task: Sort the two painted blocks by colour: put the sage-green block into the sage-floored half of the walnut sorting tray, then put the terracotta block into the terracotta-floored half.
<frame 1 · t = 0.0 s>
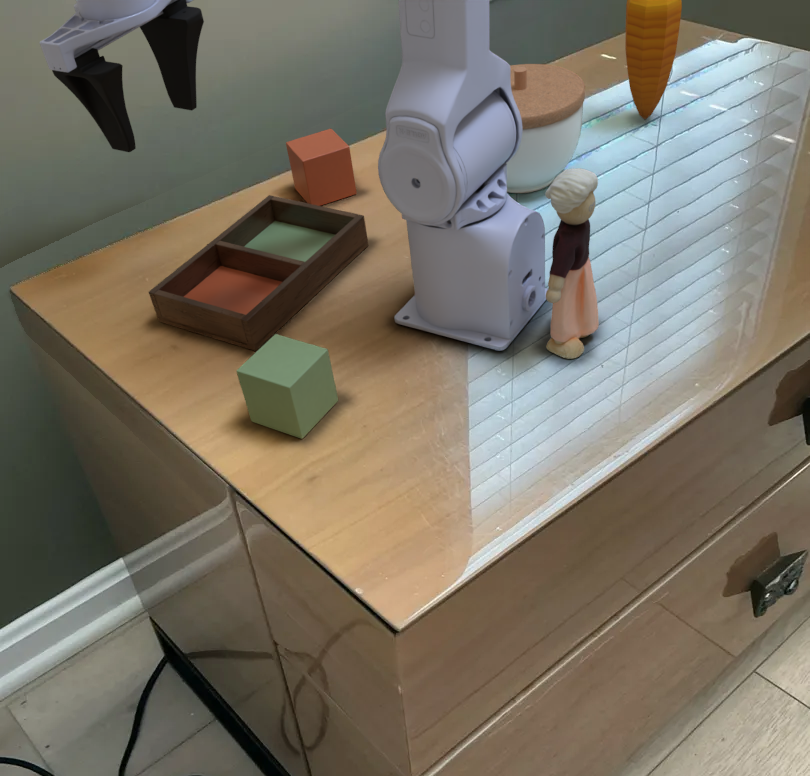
hand: (155, 127, 77), 10 cm above the cabinet, tool pointing down, fingers open, 7 cm apart
sage block: (295, 411, 67), on the cabinet
terracotta block: (325, 191, 88), on the cabinet
trinket box: (522, 178, 86), on the cabinet
grandmother figurine: (571, 337, 69), on the cabinet
carrot: (644, 120, 91), on the cabinet
sorting tray: (266, 282, 79), on the cabinet
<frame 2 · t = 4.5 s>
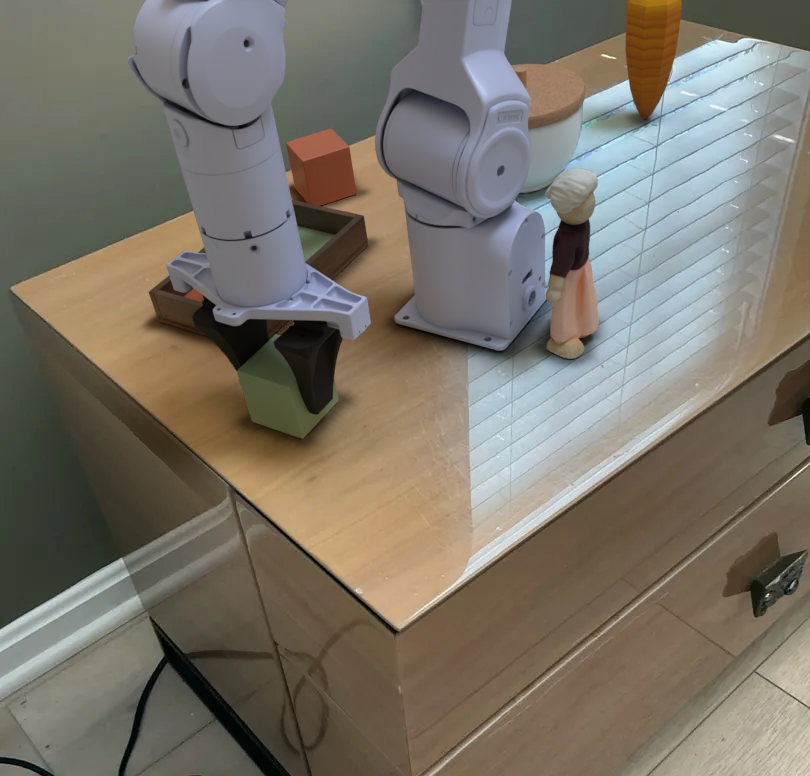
hand: (291, 395, 66), 1 cm above the cabinet, tool pointing down, fingers closed on sage block, 4 cm apart
sage block: (295, 411, 67), on the cabinet, touching gripper
everything else where it was.
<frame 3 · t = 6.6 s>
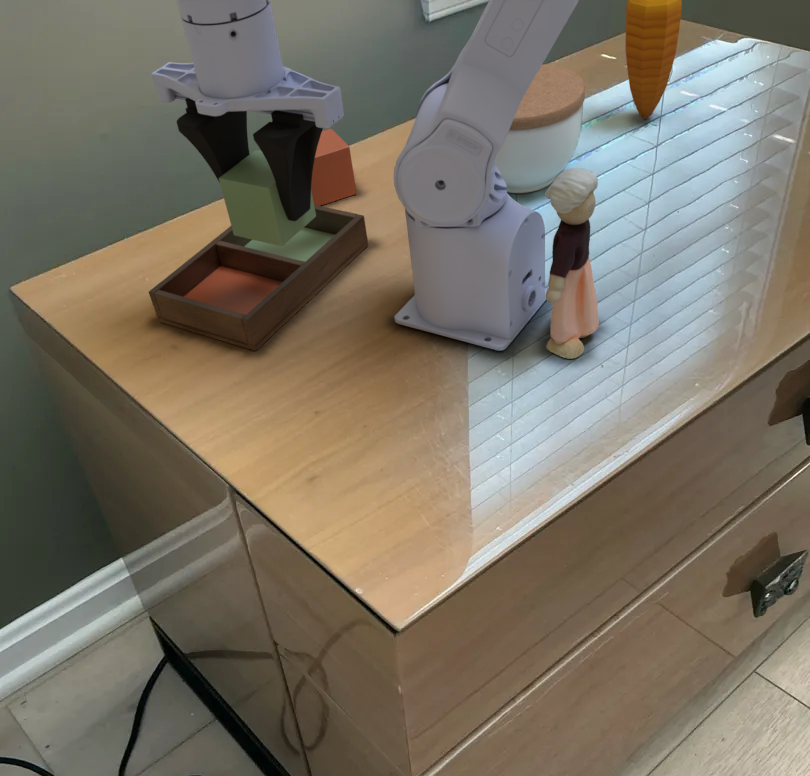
hand: (271, 208, 70), 8 cm above the cabinet, tool pointing down, fingers closed on sage block, 4 cm apart
sage block: (275, 226, 71), point 7 cm above the cabinet, touching gripper
everything else where it was.
when the fingers open (2 cm above the cabinet, at t = 9.2 s): sage block stays where it is, resting on sorting tray.
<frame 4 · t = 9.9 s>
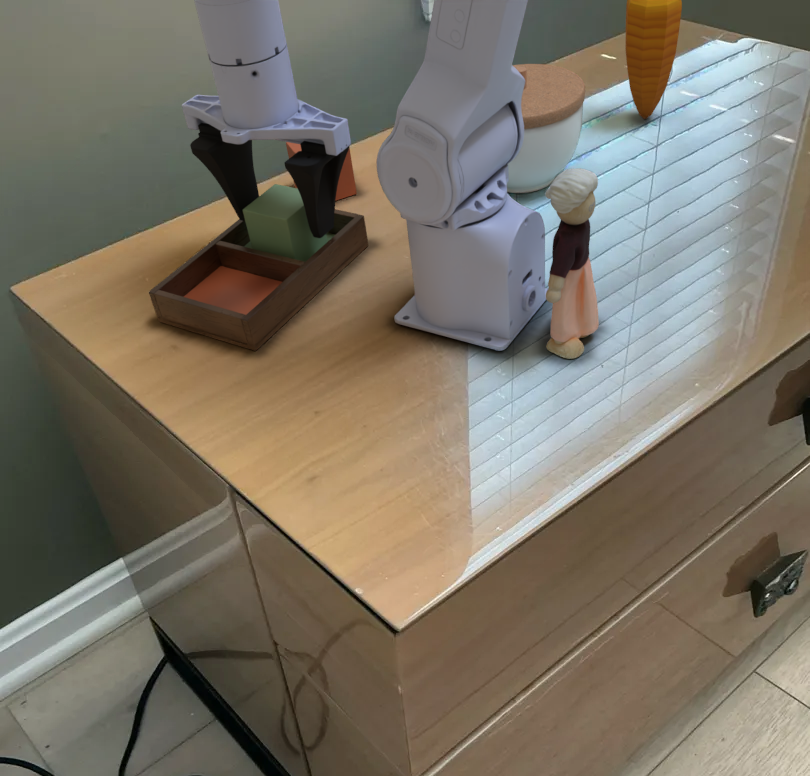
hand: (286, 223, 78), 3 cm above the cabinet, tool pointing down, fingers open, 7 cm apart
sage block: (291, 250, 80), point 1 cm above the cabinet, touching sorting tray
everything else where it was.
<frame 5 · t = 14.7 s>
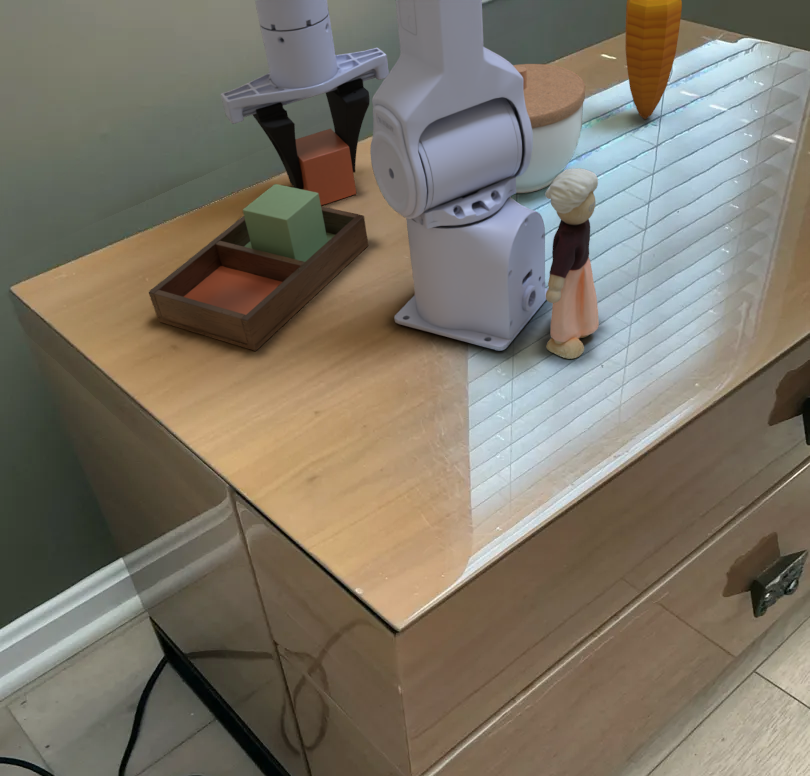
hand: (323, 177, 87), 1 cm above the cabinet, tool pointing down, fingers closed on terracotta block, 4 cm apart
terracotta block: (325, 191, 88), on the cabinet, touching gripper
everything else where it was.
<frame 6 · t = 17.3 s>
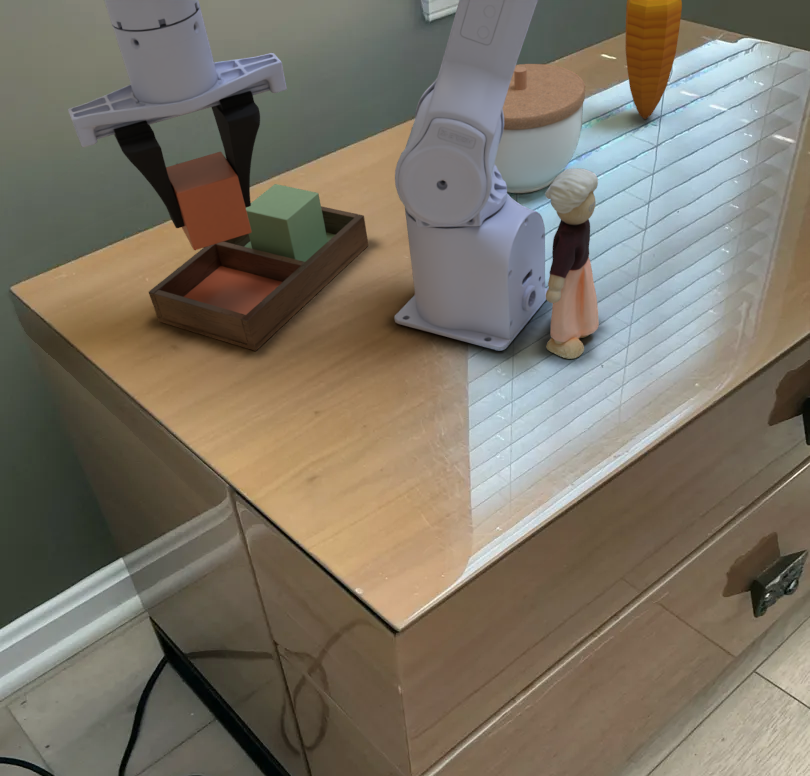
hand: (211, 211, 70), 8 cm above the cabinet, tool pointing down, fingers closed on terracotta block, 4 cm apart
terracotta block: (215, 228, 71), point 7 cm above the cabinet, touching gripper
everything else where it was.
when the fingers open (2 cm above the cabinet, at t = 20.0 s): terracotta block stays where it is, resting on sorting tray.
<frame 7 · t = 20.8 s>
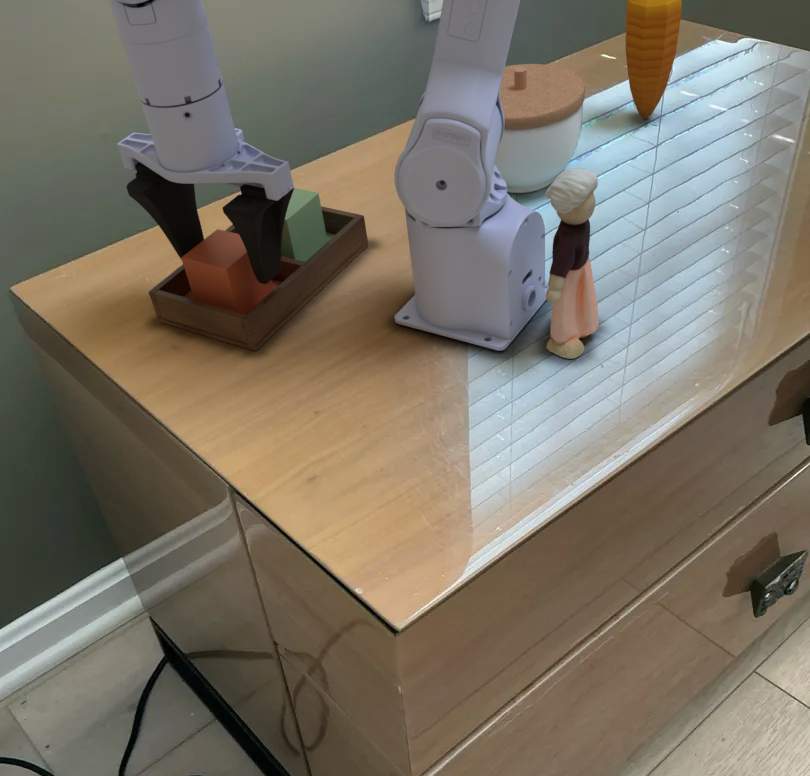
hand: (231, 266, 74), 4 cm above the cabinet, tool pointing down, fingers open, 7 cm apart
terracotta block: (235, 298, 76), point 1 cm above the cabinet, touching sorting tray
everything else where it was.
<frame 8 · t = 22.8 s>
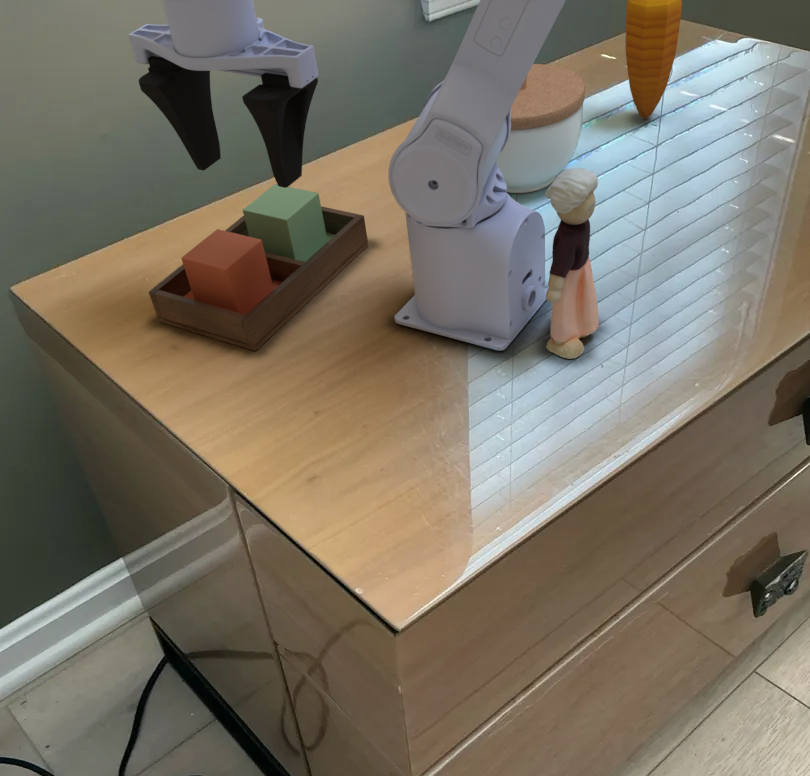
hand: (248, 172, 70), 10 cm above the cabinet, tool pointing down, fingers open, 7 cm apart
nothing on the cabinet moved.
at the end: sage block inside the target area on the sorting tray (0.1 cm from its centre), point 0.8 cm above the sorting tray's base; terracotta block inside the target area on the sorting tray (0.1 cm from its centre), point 0.8 cm above the sorting tray's base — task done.
